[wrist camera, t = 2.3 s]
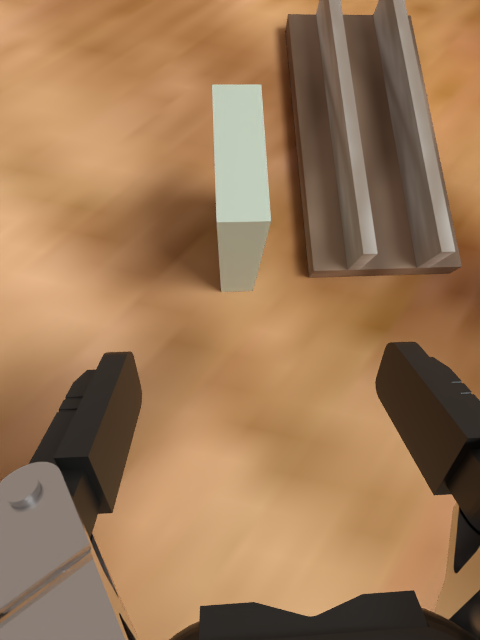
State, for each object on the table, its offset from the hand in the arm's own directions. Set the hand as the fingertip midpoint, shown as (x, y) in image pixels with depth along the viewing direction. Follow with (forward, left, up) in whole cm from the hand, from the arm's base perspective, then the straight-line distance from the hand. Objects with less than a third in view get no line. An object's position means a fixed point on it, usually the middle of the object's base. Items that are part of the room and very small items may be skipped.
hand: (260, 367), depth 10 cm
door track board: (+12, +21, -14) cm, 28 cm away
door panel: (0, +11, -15) cm, 18 cm away
